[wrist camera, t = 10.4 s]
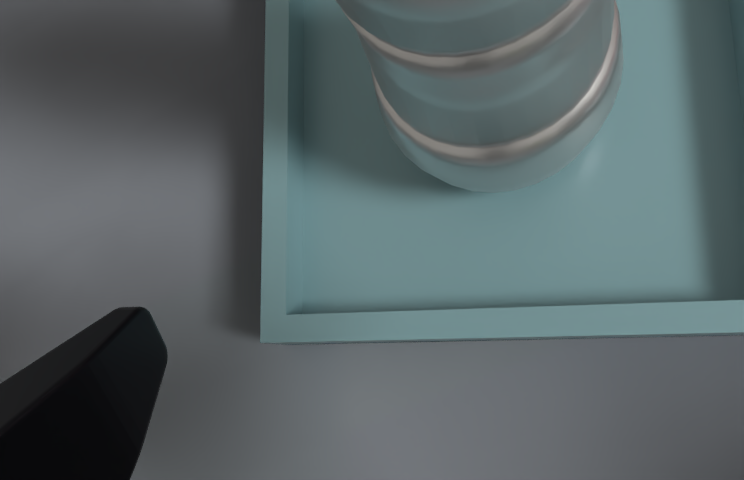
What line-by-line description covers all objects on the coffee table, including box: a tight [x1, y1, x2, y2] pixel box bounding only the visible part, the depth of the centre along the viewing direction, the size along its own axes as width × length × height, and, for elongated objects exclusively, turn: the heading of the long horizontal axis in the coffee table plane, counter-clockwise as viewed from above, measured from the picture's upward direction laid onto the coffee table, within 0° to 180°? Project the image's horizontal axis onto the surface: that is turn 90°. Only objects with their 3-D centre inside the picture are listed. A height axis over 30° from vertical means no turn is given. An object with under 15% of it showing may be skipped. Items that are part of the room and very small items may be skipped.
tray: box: [260, 0, 744, 345], centre depth 21 cm, size 15×15×2 cm
